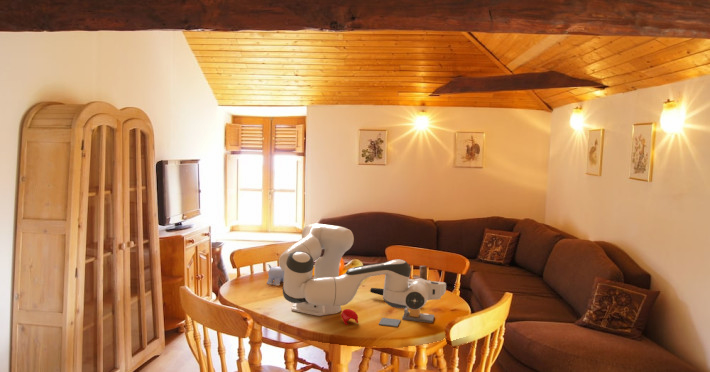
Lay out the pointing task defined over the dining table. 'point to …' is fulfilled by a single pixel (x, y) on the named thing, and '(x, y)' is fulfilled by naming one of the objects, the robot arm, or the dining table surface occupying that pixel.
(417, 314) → the tan wooden block
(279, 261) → the robot arm
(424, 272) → the brown wooden post
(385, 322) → the coaster
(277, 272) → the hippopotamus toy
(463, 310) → the dining table surface
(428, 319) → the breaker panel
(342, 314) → the cap
